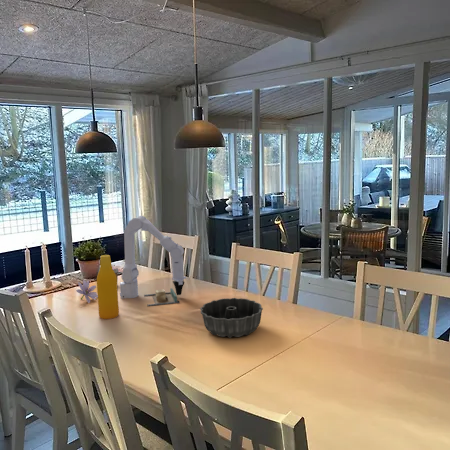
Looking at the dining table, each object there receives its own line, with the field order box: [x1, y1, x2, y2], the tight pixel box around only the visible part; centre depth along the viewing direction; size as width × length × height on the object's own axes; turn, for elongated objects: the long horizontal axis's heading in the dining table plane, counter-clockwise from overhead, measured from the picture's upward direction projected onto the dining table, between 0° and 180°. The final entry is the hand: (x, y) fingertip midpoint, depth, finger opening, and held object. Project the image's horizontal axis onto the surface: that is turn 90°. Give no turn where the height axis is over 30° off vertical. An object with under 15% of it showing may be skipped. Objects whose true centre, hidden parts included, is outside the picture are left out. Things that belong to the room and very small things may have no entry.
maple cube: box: [155, 288, 166, 301], centre depth 226 cm, size 4×4×4 cm
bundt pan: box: [199, 297, 264, 339], centre depth 186 cm, size 26×26×10 cm
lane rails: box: [143, 291, 180, 307], centre depth 227 cm, size 16×18×2 cm
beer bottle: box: [96, 254, 120, 320], centre depth 204 cm, size 9×9×29 cm
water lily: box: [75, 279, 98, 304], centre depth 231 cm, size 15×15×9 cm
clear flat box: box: [151, 287, 178, 304], centre depth 227 cm, size 11×15×4 cm
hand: (178, 294), depth 229 cm, fingers closed
